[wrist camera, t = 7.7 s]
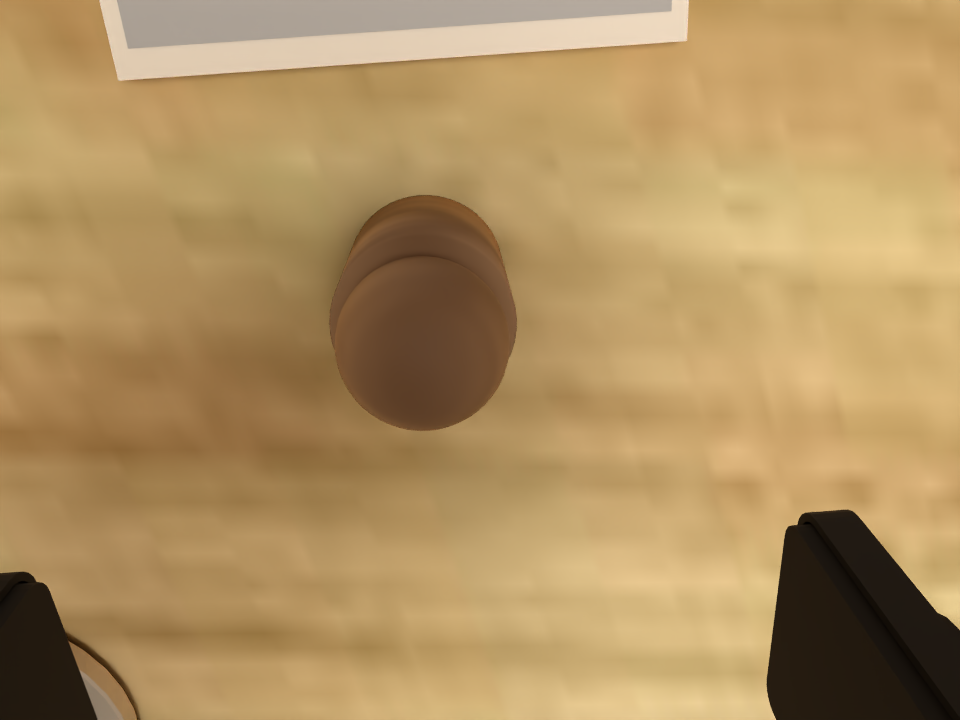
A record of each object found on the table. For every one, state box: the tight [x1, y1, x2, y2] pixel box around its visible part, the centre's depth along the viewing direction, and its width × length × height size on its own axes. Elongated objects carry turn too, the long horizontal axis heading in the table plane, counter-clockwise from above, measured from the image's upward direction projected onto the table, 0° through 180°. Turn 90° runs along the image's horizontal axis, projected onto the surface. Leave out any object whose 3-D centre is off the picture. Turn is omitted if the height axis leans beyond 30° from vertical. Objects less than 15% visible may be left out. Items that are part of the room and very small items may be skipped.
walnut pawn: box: [330, 195, 517, 431], centre depth 21 cm, size 5×5×8 cm
